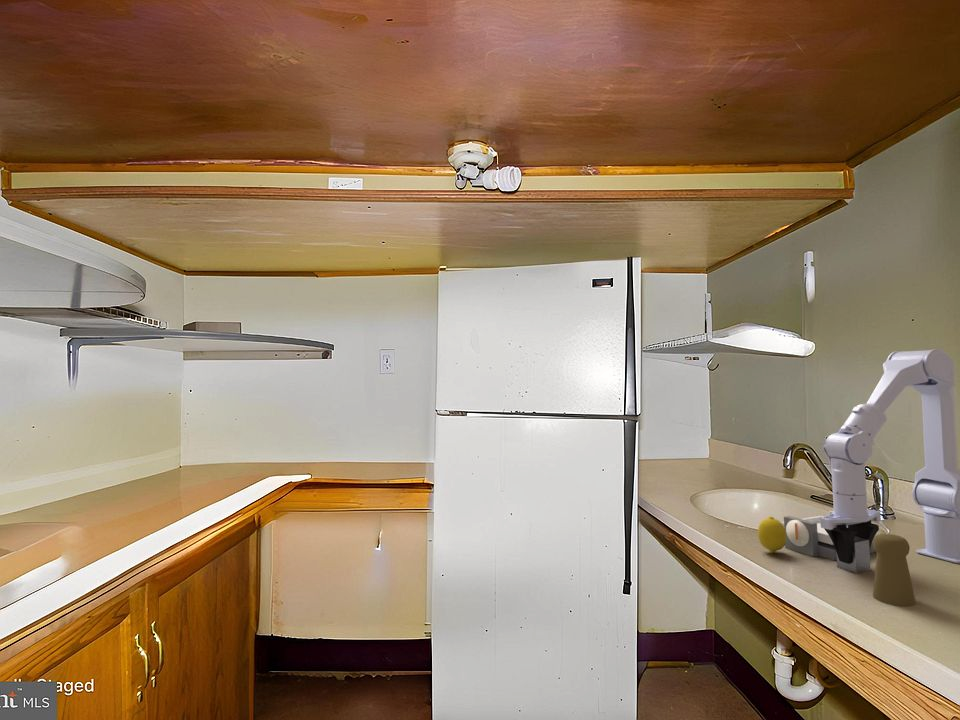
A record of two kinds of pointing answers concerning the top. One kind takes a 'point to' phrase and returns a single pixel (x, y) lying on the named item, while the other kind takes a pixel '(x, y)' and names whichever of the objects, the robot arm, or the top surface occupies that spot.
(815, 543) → the kitchen scale
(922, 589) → the top surface
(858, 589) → the top surface
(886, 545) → the cork
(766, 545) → the lemon
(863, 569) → the steel block
